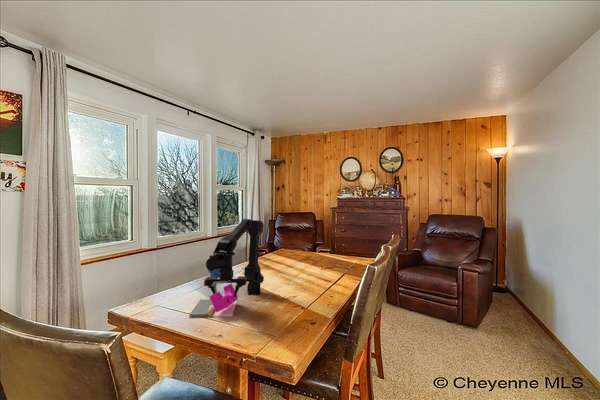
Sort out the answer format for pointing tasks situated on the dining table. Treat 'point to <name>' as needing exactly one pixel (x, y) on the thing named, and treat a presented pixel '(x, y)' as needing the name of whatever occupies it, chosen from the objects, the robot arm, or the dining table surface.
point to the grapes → (214, 273)
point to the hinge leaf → (203, 308)
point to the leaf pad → (225, 311)
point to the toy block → (224, 298)
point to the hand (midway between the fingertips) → (225, 299)
